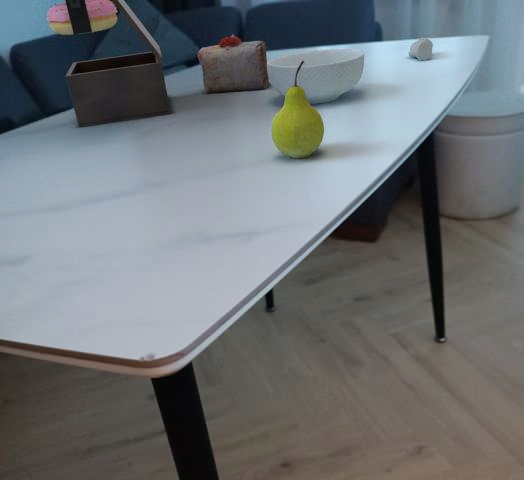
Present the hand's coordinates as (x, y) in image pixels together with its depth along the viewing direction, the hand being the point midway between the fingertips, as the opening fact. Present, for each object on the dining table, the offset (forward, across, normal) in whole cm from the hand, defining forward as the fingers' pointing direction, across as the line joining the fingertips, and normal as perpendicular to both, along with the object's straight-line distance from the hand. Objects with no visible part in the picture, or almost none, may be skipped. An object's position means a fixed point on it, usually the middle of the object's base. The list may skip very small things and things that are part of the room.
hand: (86, 28), depth 94 cm
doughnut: (0, 0, 0) cm, 0 cm away
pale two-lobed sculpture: (+16, +24, -65) cm, 71 cm away
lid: (-1, +13, -6) cm, 14 cm away
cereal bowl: (+16, +1, -37) cm, 40 cm away
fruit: (+16, -30, -27) cm, 43 cm away
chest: (+16, +13, -2) cm, 21 cm away
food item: (+16, +20, -25) cm, 35 cm away
